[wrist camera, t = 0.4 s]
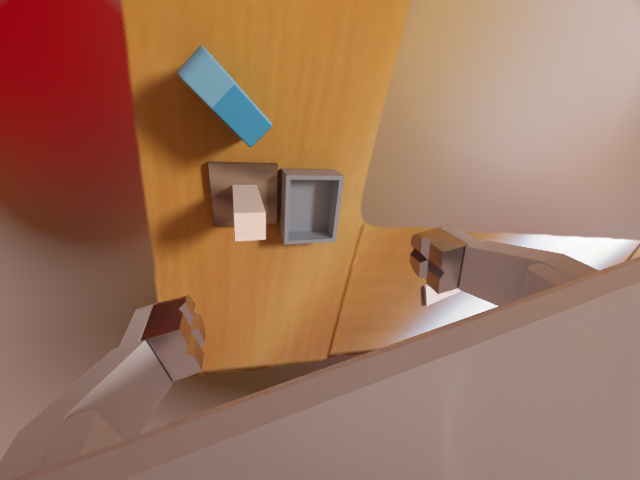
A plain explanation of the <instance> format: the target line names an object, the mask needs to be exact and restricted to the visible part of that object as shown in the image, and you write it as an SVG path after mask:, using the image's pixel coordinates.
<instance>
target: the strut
mask: <svg viewBox="0 0 640 480" xmlns="http://www.w3.org/2000/svg"><path fill="white" fill-rule="evenodd" d="M232 186H233V209H234V226H235V241H251V240H266V211H265V208H264V205H263V202H262V199H261V196H260V193H259V189H258V186H257V185H232Z"/></svg>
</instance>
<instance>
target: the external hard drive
mask: <svg viewBox="0 0 640 480" xmlns="http://www.w3.org/2000/svg"><path fill="white" fill-rule="evenodd" d="M460 291H461V290H459V288H457V289H454V290H451V291H447V292H444V293H440V294H437V293H436V292H435V291H434V290H433V289H432V288H431V287H430V286H429V285H428V284H426V285H424V305H425V306H428V305H431V304H433V303H435V302H437V301H440V300H442V299H444V298H446V297H449V296H451V295H453V294H456V293H458V292H460Z"/></svg>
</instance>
